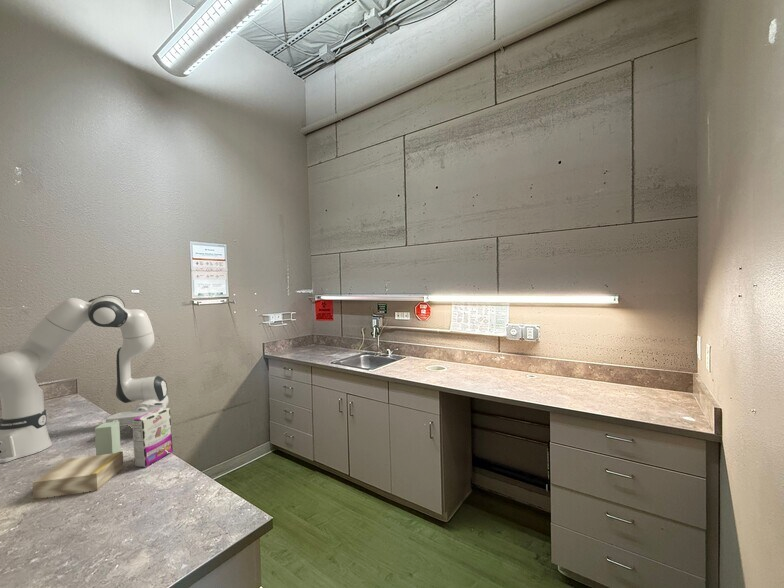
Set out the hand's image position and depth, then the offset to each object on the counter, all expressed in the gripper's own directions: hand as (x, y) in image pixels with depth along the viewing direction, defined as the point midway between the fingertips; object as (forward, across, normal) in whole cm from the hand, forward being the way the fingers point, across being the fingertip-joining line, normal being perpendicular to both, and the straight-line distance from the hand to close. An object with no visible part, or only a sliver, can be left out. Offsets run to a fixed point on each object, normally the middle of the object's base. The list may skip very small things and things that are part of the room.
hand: (126, 425), depth 134 cm
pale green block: (+12, 0, +7) cm, 14 cm away
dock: (+28, +1, +7) cm, 29 cm away
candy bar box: (+18, +17, +7) cm, 26 cm away
